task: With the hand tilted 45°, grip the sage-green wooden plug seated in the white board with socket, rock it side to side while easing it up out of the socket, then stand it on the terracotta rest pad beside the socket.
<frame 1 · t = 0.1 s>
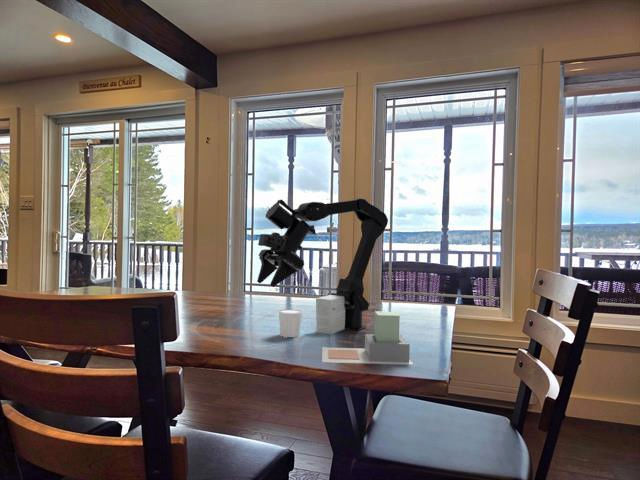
hand: (264, 284, 110), 15 cm above the table, tool tilted 35°, fingers open, 9 cm apart
small box: (330, 331, 122), on the table, touching arm
white cup: (289, 336, 115), on the table
plug: (385, 355, 92), point 1 cm above the table, touching white board with socket
white board with socket: (364, 359, 92), on the table
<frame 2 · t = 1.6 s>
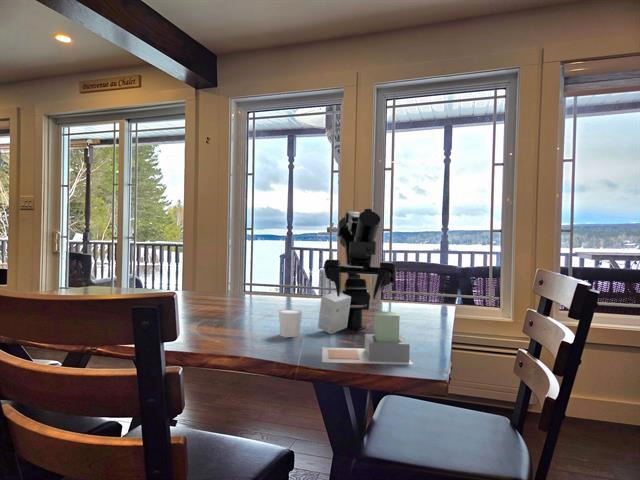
hand: (355, 297, 99), 14 cm above the table, tool tilted 40°, fingers open, 9 cm apart
small box: (332, 328, 121), point 1 cm above the table, touching arm
everything else where it was.
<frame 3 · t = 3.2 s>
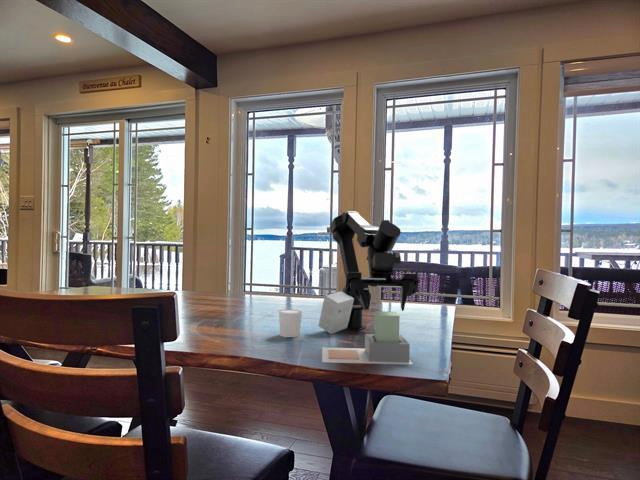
hand: (384, 309, 97), 11 cm above the table, tool tilted 45°, fingers open, 9 cm apart
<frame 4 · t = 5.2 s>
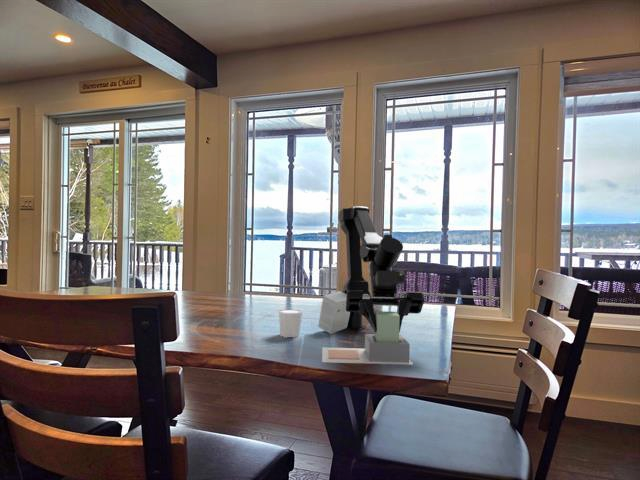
hand: (387, 331, 91), 7 cm above the table, tool tilted 45°, fingers closed on plug, 5 cm apart
plug: (385, 355, 92), point 1 cm above the table, touching gripper, white board with socket
everything else where it was.
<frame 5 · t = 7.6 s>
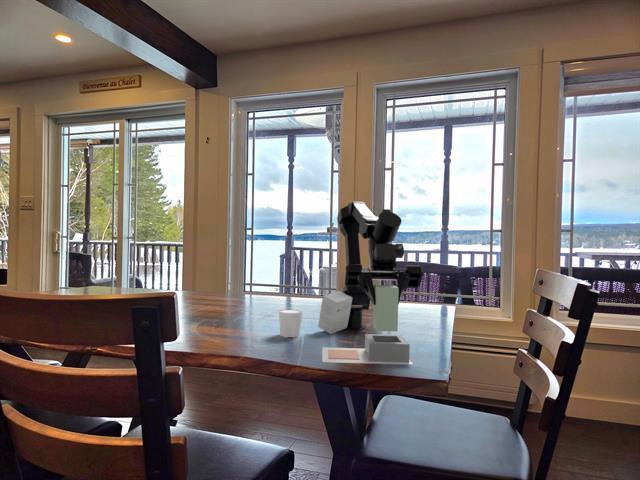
hand: (386, 303, 91), 13 cm above the table, tool tilted 45°, fingers closed on plug, 5 cm apart
plug: (384, 328, 93), point 7 cm above the table, touching gripper
everything else where it was.
when the fingers open (8 cm above the table, at t = 10.3 s): plug stays where it is, resting on white board with socket.
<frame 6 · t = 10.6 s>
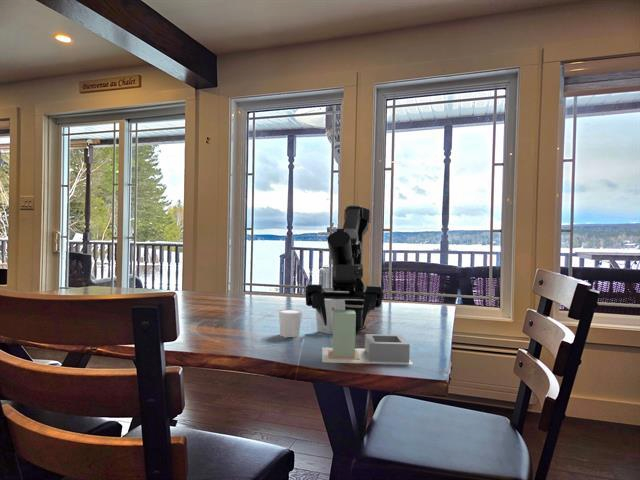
hand: (344, 325, 91), 8 cm above the table, tool tilted 45°, fingers open, 8 cm apart
plug: (343, 353, 93), point 1 cm above the table, touching white board with socket
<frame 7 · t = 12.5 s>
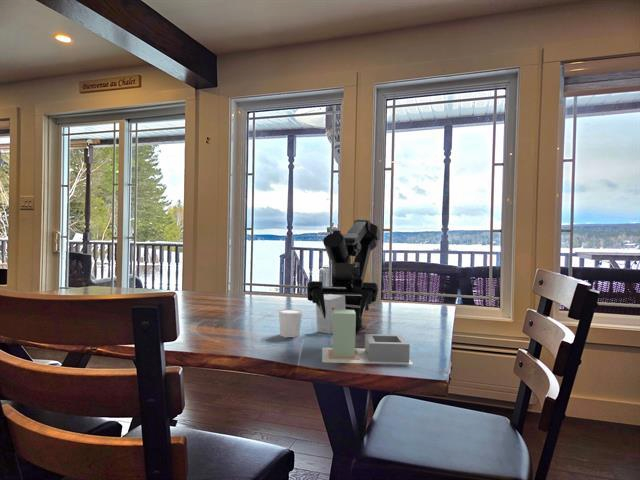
hand: (342, 317, 101), 8 cm above the table, tool tilted 45°, fingers open, 9 cm apart
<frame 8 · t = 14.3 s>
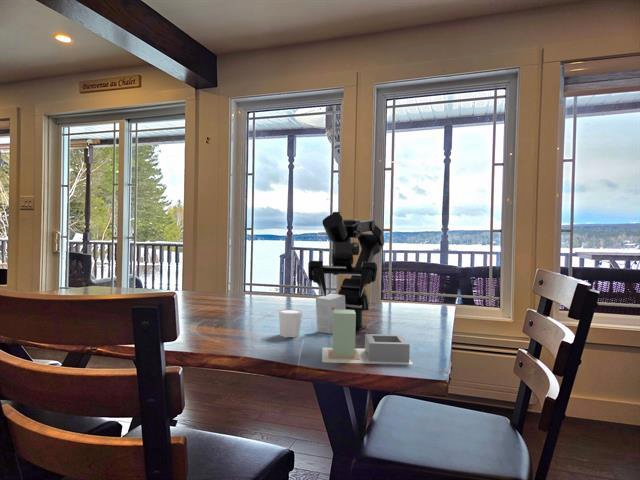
hand: (342, 295, 103), 14 cm above the table, tool tilted 45°, fingers open, 9 cm apart
at the end: plug 0.2 cm from the target spot on the white board with socket, point 1.2 cm above the white board with socket's base; plug tilted 0°; the gripper is holding nothing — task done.
